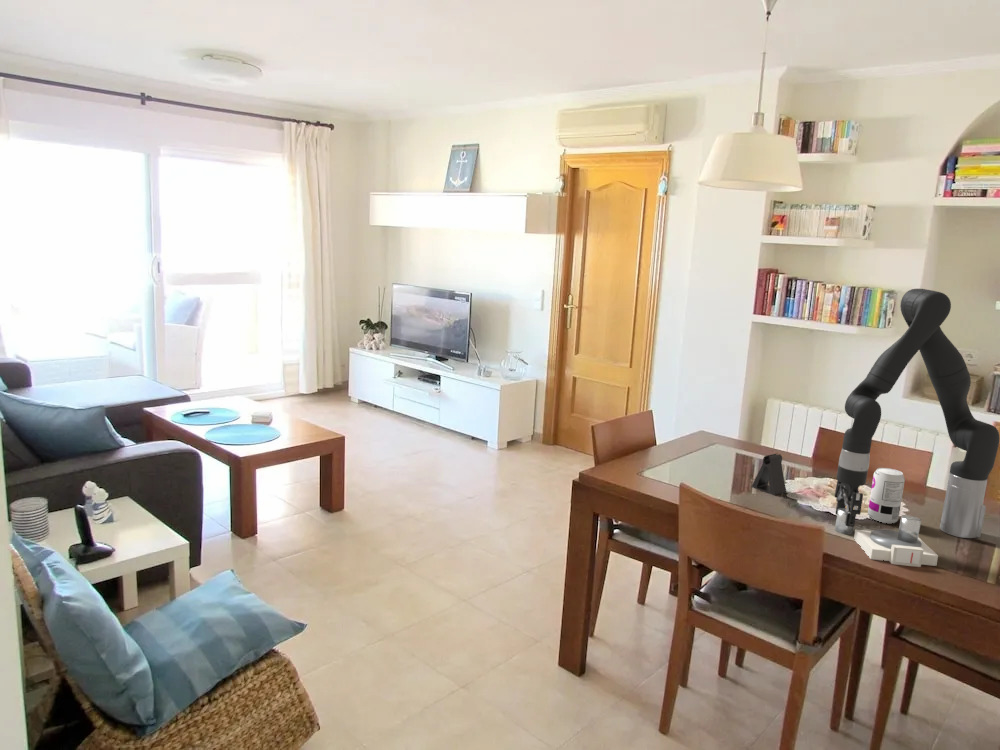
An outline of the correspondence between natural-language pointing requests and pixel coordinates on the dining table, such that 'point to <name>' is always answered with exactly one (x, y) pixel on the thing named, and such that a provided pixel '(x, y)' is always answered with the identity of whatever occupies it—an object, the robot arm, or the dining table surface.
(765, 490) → the black triangular stand
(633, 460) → the dining table surface
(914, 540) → the silver metal block
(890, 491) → the supplement can
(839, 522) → the cylinder
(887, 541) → the scale
